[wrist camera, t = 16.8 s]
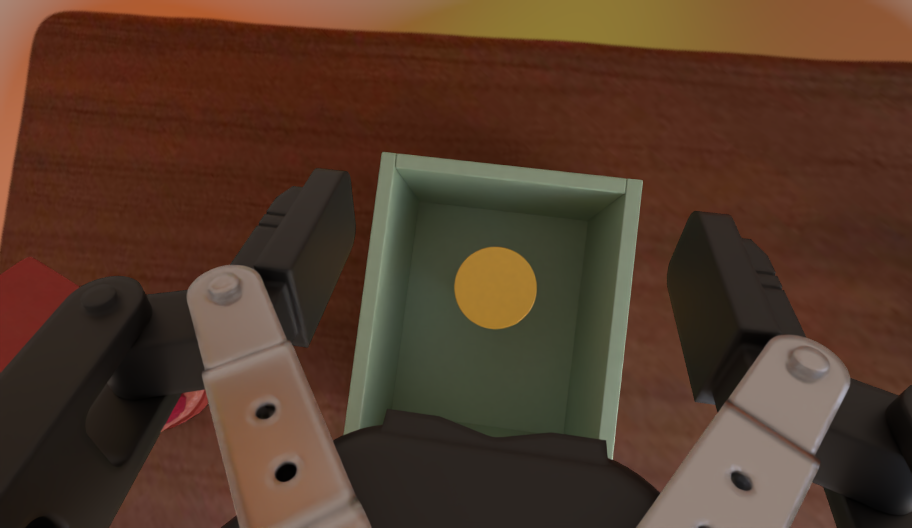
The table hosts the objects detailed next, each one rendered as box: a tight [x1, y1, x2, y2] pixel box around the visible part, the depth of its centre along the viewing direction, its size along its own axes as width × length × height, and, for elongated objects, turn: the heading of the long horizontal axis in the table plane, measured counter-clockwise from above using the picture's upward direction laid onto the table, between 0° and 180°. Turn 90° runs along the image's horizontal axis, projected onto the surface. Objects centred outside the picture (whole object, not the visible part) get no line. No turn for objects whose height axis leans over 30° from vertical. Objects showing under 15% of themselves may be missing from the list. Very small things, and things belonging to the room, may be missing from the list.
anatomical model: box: [0, 257, 208, 432], centre depth 32 cm, size 10×8×15 cm
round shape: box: [454, 247, 537, 329], centre depth 32 cm, size 4×4×9 cm
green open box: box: [344, 152, 643, 459], centre depth 32 cm, size 17×14×11 cm
